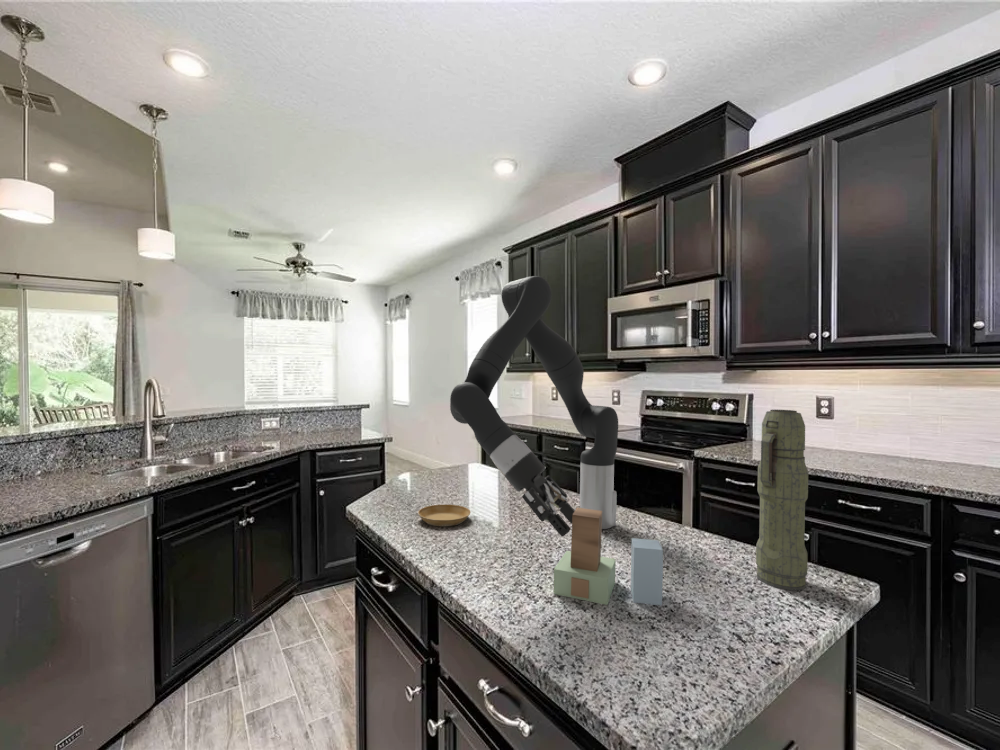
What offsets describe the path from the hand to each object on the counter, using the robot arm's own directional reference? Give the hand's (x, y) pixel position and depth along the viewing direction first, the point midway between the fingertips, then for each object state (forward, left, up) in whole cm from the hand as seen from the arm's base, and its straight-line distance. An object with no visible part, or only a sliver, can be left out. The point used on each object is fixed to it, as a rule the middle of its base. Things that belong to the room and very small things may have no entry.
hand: (571, 526), depth 88 cm
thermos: (-43, +10, -12) cm, 46 cm away
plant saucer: (+15, -47, -12) cm, 51 cm away
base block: (-3, +1, -12) cm, 12 cm away
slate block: (-12, +8, -12) cm, 18 cm away
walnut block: (-2, +1, -7) cm, 8 cm away
